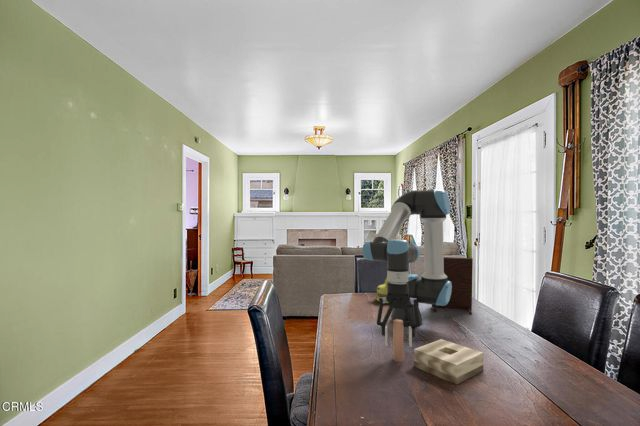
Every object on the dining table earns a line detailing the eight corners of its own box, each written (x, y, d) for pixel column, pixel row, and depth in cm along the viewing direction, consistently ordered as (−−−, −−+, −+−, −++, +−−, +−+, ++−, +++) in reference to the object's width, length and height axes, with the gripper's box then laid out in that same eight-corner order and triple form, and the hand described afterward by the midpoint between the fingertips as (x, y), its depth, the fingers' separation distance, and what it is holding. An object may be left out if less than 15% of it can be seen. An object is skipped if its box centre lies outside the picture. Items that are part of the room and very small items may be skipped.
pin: (391, 359, 123) (390, 320, 123) (397, 356, 125) (397, 318, 125) (398, 362, 120) (398, 323, 120) (405, 360, 122) (405, 321, 122)
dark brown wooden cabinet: (471, 310, 188) (470, 256, 189) (473, 315, 178) (472, 258, 179) (431, 307, 195) (431, 255, 196) (431, 311, 185) (431, 257, 186)
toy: (375, 298, 216) (375, 275, 216) (399, 299, 214) (399, 275, 215) (376, 304, 201) (376, 279, 201) (403, 305, 199) (403, 279, 199)
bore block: (414, 366, 117) (414, 349, 117) (441, 355, 126) (441, 339, 126) (456, 384, 104) (456, 365, 104) (483, 370, 113) (483, 352, 114)
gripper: (368, 283, 121) (369, 347, 120) (429, 285, 118) (429, 350, 117) (369, 279, 128) (369, 340, 128) (425, 281, 125) (426, 342, 125)
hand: (398, 345), depth 122 cm, fingers open, 8 cm apart
